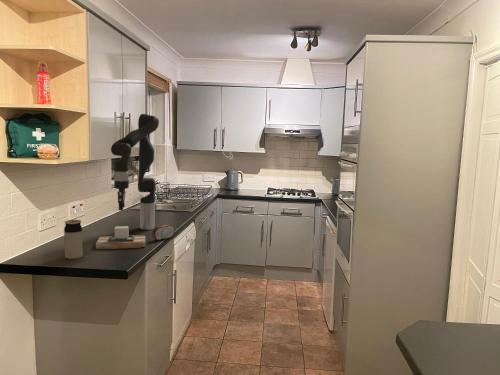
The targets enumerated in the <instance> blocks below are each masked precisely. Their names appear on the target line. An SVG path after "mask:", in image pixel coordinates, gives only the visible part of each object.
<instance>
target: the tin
mask: <svg viewBox="0 0 500 375" xmlns="http://www.w3.org/2000/svg"><path fill="white" fill-rule="evenodd" d="M151 235H152V238H153V240H157V241H162V240H161V239H163V240H167V239H171V238H172V237H173V236H174V235H175V226H174V225H171V224H170V223H166V224H162V225H161V224H160V225H157V226H156V225H155V228H154V229H152V232H151Z"/></svg>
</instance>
